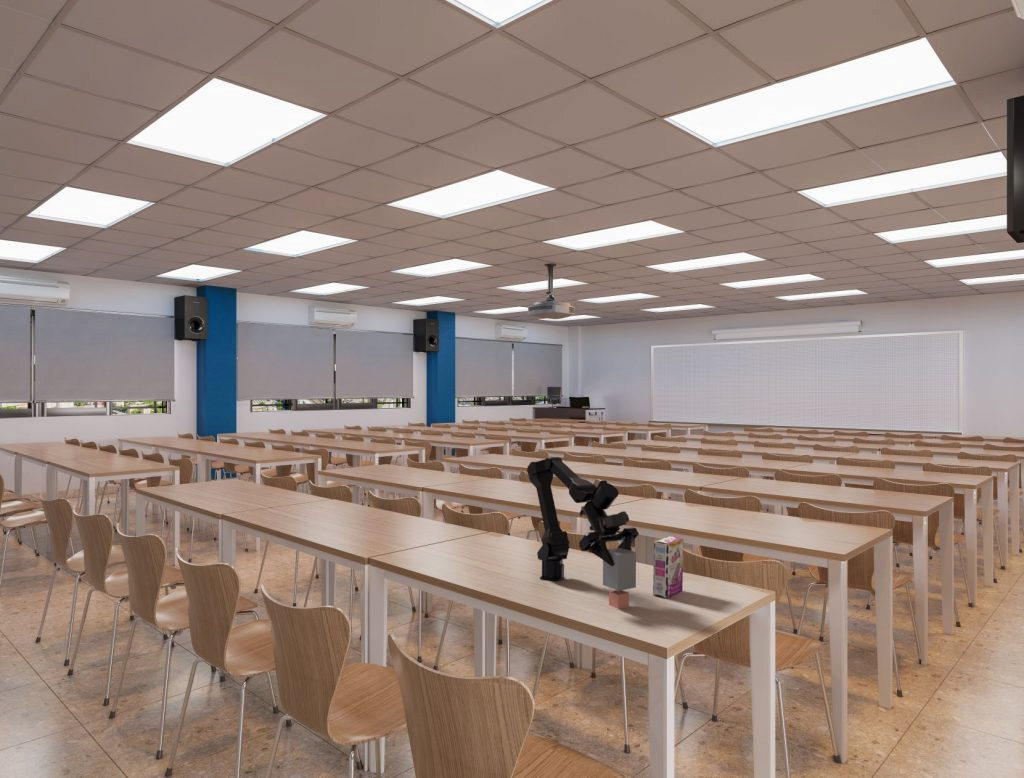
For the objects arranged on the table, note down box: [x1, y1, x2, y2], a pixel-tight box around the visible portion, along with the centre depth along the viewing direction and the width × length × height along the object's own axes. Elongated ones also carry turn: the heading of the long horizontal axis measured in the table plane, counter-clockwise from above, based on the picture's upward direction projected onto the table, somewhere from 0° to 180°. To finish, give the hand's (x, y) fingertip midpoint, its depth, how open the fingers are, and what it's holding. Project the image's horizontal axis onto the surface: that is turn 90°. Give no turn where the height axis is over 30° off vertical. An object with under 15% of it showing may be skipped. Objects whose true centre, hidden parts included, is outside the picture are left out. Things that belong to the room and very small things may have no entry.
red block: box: [608, 589, 630, 610], centre depth 182 cm, size 4×4×4 cm
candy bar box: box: [652, 536, 684, 599], centre depth 195 cm, size 11×5×16 cm, turn 141°
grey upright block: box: [602, 547, 637, 591], centre depth 182 cm, size 7×7×10 cm
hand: (622, 564), depth 181 cm, fingers closed on grey upright block, 7 cm apart
